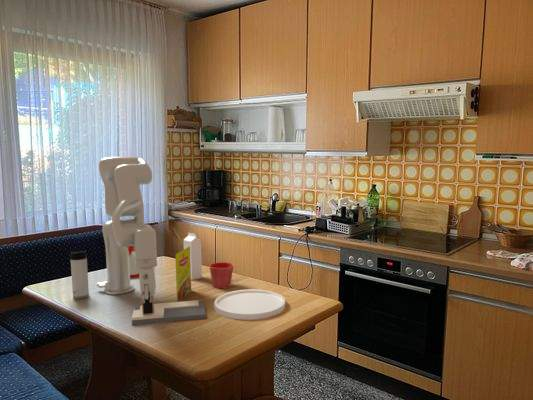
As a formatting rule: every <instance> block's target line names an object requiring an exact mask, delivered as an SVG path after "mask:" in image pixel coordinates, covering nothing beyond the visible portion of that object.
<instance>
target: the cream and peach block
mask: <svg viewBox="0 0 533 400" xmlns="http://www.w3.org/2000/svg"><path fill="white" fill-rule="evenodd" d="M149 297H150V296H149ZM154 297H155V294H154V295H153V294H152V295H151V302H152V307H153V313H148V314H144V313H143V296H142V295H141V305H142V309H141V310H135V309H133V311H132V315H131V321H132V320H142V319H153V318H164V308H154V304H155V299H154Z"/></svg>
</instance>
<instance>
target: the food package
mask: <svg viewBox="0 0 533 400" xmlns="http://www.w3.org/2000/svg"><path fill="white" fill-rule="evenodd" d="M175 278H176V280H175V281H176V302H181V300H182V299H183V298H185V297H186V296H187V295H188V294H189V293H191V292H192V280H191V267H190V246H189V247H187V248H186V249H184V248H183V249H182V250H181V251H178V252H177V253H176V254H175Z"/></svg>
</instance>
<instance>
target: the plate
mask: <svg viewBox="0 0 533 400" xmlns="http://www.w3.org/2000/svg"><path fill="white" fill-rule="evenodd" d="M213 306H214V310H215V312H216V313H217V314H219V315H220V316H222V317H224V318H229V319H233V320H234V319H235V320H244V321H245V320H246V321H247V320H261V319H262V320H263V319H266V318H267V319H268V318H271V317H274V316H276V314H277V315H278V313H279V314H280V313H282V312H283V311H284V310H285V309H286V299H285V297H284V296H283V295H281V294H280V293H277V292H274V291H270V290H265V289H257V288H256V289H255V288H254V289H250V288H249V289H239V290H233V291H229V292H225V293H224V294H221V295H219V296H218V297H217V298H215V300H214V305H213ZM283 309H284V310H283ZM281 311H282V312H281ZM273 315H274V316H273Z"/></svg>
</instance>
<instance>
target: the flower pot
mask: <svg viewBox="0 0 533 400" xmlns="http://www.w3.org/2000/svg"><path fill="white" fill-rule="evenodd" d="M208 267H209V272H210V277H211V282H212V286H213V287H214V288H216V289H227V288H229V287H230V286H231V284H232V283H231V281H232V277H233V273H234V272H233V270H234V264H233V263H231V262H223V261H222V262H214V263H211V264H209V266H208Z"/></svg>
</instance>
